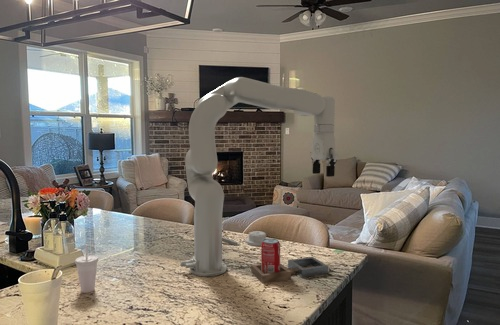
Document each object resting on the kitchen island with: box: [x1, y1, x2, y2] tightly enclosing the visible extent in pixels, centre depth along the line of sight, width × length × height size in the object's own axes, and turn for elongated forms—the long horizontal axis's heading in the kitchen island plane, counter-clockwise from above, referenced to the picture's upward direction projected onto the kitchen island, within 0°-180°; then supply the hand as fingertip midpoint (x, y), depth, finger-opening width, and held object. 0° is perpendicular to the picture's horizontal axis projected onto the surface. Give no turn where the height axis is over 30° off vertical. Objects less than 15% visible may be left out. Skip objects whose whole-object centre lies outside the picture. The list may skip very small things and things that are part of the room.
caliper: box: [222, 236, 241, 247], centre depth 160 cm, size 20×1×6 cm, turn 67°
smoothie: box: [74, 244, 99, 294], centre depth 111 cm, size 6×6×14 cm
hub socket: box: [286, 256, 329, 278], centre depth 128 cm, size 14×10×2 cm
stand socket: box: [250, 263, 292, 284], centre depth 124 cm, size 10×10×2 cm
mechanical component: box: [245, 230, 268, 247], centre depth 160 cm, size 10×4×10 cm
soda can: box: [260, 237, 281, 274], centre depth 123 cm, size 6×6×12 cm
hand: (323, 174), depth 142 cm, fingers open, 9 cm apart
